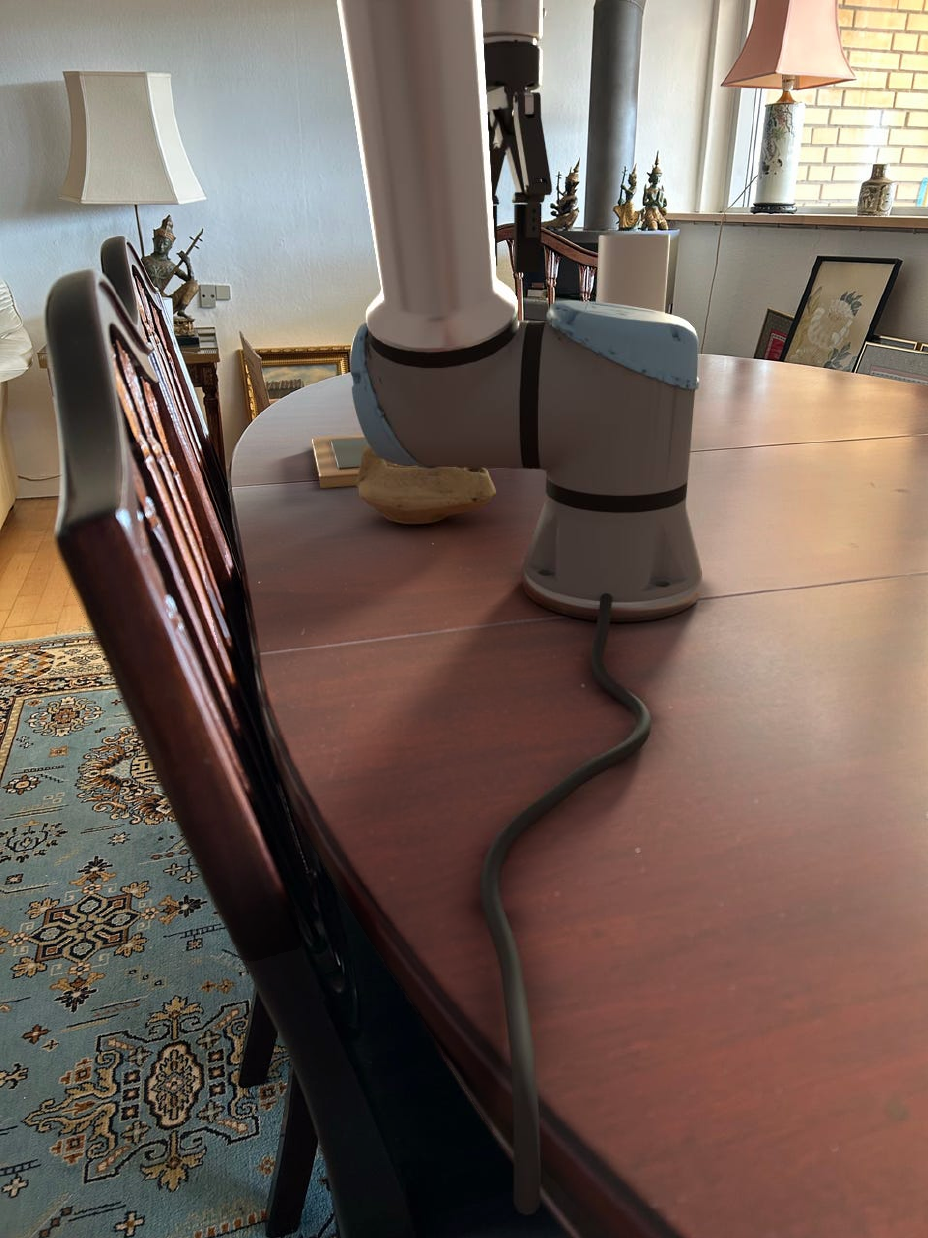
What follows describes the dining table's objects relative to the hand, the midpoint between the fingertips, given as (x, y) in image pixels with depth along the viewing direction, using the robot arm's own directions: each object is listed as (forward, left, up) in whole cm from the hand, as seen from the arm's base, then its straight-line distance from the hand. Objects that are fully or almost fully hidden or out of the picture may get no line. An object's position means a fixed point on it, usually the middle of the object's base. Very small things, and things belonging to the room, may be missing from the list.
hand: (505, 269), depth 99 cm
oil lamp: (-17, +4, -24) cm, 30 cm away
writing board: (+3, +18, -24) cm, 30 cm away
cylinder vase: (+71, -5, -24) cm, 75 cm away
